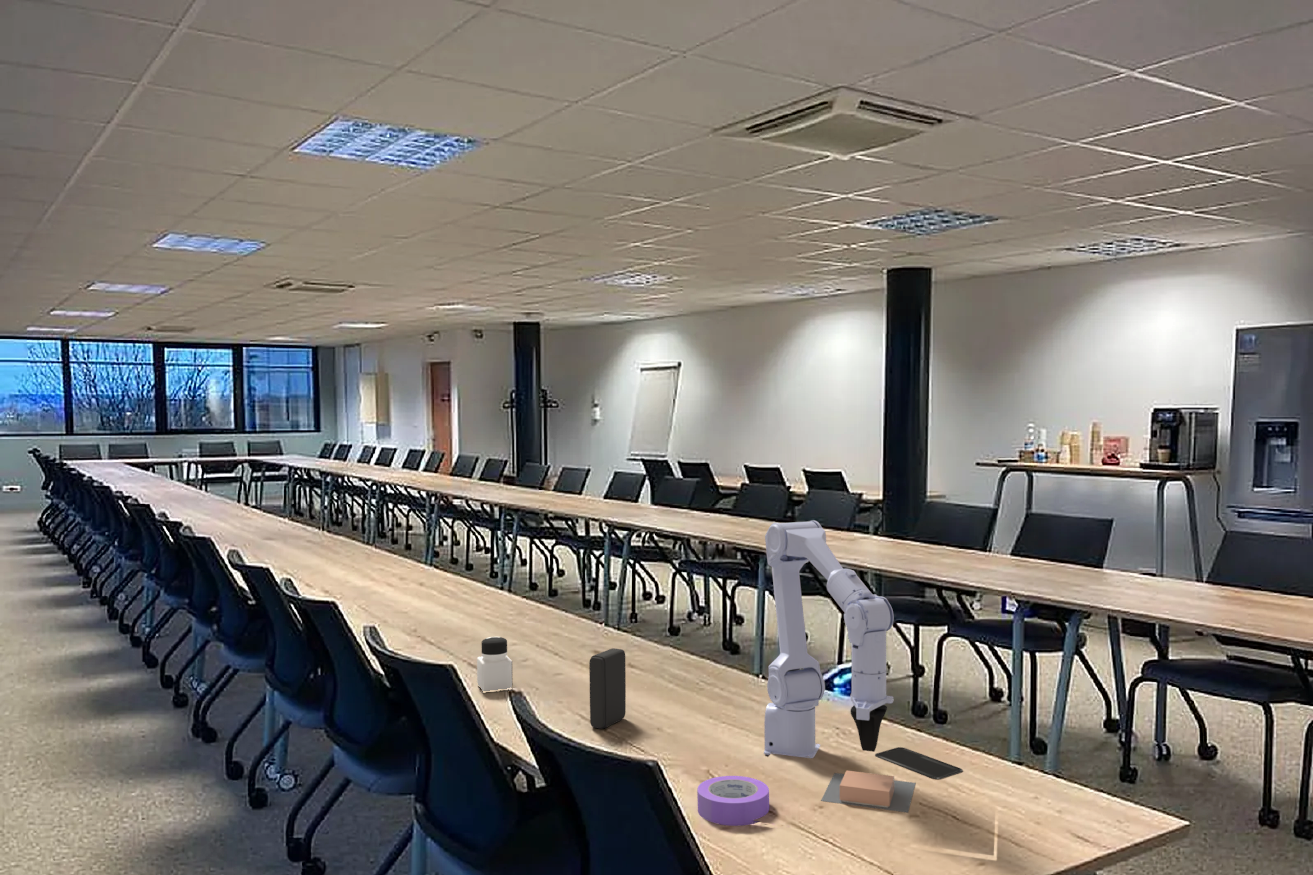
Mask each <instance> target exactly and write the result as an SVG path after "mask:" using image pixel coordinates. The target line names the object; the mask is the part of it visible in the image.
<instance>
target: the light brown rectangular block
mask: <svg viewBox="0 0 1313 875" xmlns="http://www.w3.org/2000/svg"><path fill="white" fill-rule="evenodd" d="M844 774H845V775H844V777H843V779H842V781H841V784H840V800H841V801H842V802H849V803H857V804H864V805H872V806H879V807H887V808H888V807H889V806H890V803H891V800H892V796H893V793H894V780H895V776H894V775H888V774H887V775H886V774H878V773H871V772H863V771H853V770H845V772H844Z"/></svg>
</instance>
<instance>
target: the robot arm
mask: <svg viewBox="0 0 1313 875" xmlns="http://www.w3.org/2000/svg"><path fill="white" fill-rule="evenodd" d="M764 541H765V551H766V559H767V560H766V561H767V565H768V566H770V567H771V574H772V582H773V593H774V594H773V596H774V604H775V612H776V614H775V615H776V624H777V625H776V626H777V635H778V645H779V655H778V656H777V657H776V658H775V659H774V660H773V661H772V662H771V663H770V664H769V665H768V667H767V668H768V680H767V685H766V687H767V688H766V689H767V694H768V697H769V699H770V701H771V702H769V703H767V705H766V708H765V712H764V751H763V754H764V755H767V756H771V754H773V755H783V756H790V757H799V758H807V759H813V758H814V757H815V756H816V754H817V752H818V751H819V749H820V747H821V744H819V743H816V707H818V706H819V705H820V704H819V703H820V702H819V701H821V700H822V699H823V698H824V694H825V691H826V682H825V678H824V677H823V675H822V671H821V667H820V661H818V660H817V659H816V658H814V657H813V656H812V655H810V654H809V653H808V647H807V637H806V635H807V634H806V627H805V616H804V607H803V606H804V605H803V597H802V588H801V586H802V585H801V577H800V571H801V569H802V568H803V566H804V565H805V564H806V563H807V564H808V563H809V562H810V564H812V565H813V567H814V568H815V569H816V570H817V571H818V572H819V573H820V574H821V575H822V576H823V577H824V578H825V580H826V581H827V582H826V591H827V592H828V593H829V594H830V597H832V598H833V599H834V601H835V602H836V604H837V605H838V606H839V607H840V609H841V610H842V611H843V612H844V613H843V619H844V623H845V624H844V625H845V627H846V629H847V637H848V638H847V639H848V640H849V641H848V642H849V643H850V644H851V693H850V701H851V702H852V704H853V706H852V707H851V708H850V715H851V718H852V720H854V724H855V726H856V729H857V733H858V737H859V742H860V748H861V750H862V751H864V752H875V751H876V748H877V745H878V740H879V735H880V729H881V725H882V721H883V718H885V715H886V712H887V710H888V706H887V705H886V704H893V703H894V696H893V695H887V632H889V631H890V630H891V629H892V627H893V625H894V621H895V620H894V619H895V618H894V611H893V608H892V605H891V604H890V601H889V600H888V598H886V597H884V596H879V595H877V594H875V593H874V594H873V593H872V591H870V590H869V588H868V587H867V586H866V585H865V583H864V582H863V581H862V580H861V579H860V577H859V576H858V575H857V573H856V571H855V570H854V569H853V570H852V569H850V568H844V567H843V566H842V565H841V563H840V561H839V560H838V559H837V558H836V556H835V554H834V553H833V551H832V549H830V547H829V545H828V544H827V534H826V530H825V529H824V528H823V527H822V525H821V523H819V521H817V520H808V521H795V522H781V523H780V522H772V523H771V524H770V526H769V527H768V529H767V531H766V533H765V535H764Z"/></svg>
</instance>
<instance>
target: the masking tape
mask: <svg viewBox="0 0 1313 875" xmlns="http://www.w3.org/2000/svg"><path fill="white" fill-rule="evenodd" d="M696 789H697V791H696V793H697V797H696V798H697V813H698V815H699V816H700V817H701V818H702V819H703V820H706V821H708V822H711V823H713V824H716V825H722V826H733V827H734V826H735V827H738V826H739V827H740V826H747V825H748V826H749V825H754V824H757V823H760V822H761V821H760V820H758V819H760V818H762V817H765V816H766V815H767V814H768V813H769V811H770V789H769V786H768V785H767V784H766V783H764V782H763V781H761V780H759V779H757V778H752V777H749V776H744V775H743V776H741V775H724V776H723V775H722V776H716V777H711V778H710V779H705V780H704V781H702V782H701V783H700V784H699V785H698V786H697V788H696Z"/></svg>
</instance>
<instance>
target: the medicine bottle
mask: <svg viewBox="0 0 1313 875" xmlns="http://www.w3.org/2000/svg"><path fill="white" fill-rule="evenodd" d="M476 670H477V671H476V674H477V676H476V677H477V678H476V680H477V681H476V682H477V683H478V685H479V686H480V687H481V689H482V691H490V690H498V689H507V688H510V687H511V688H512V690H513V688H514V687H513V660H512V659H511V658H510V657H509V656H508V640H507V639H506V638H505V637H502V636H489V637H486V638H484V639H482V641H481V656H478V657H476ZM478 685H477V686H478ZM508 690H509V689H508ZM482 691H481V692H482ZM509 691H510V690H509Z"/></svg>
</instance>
